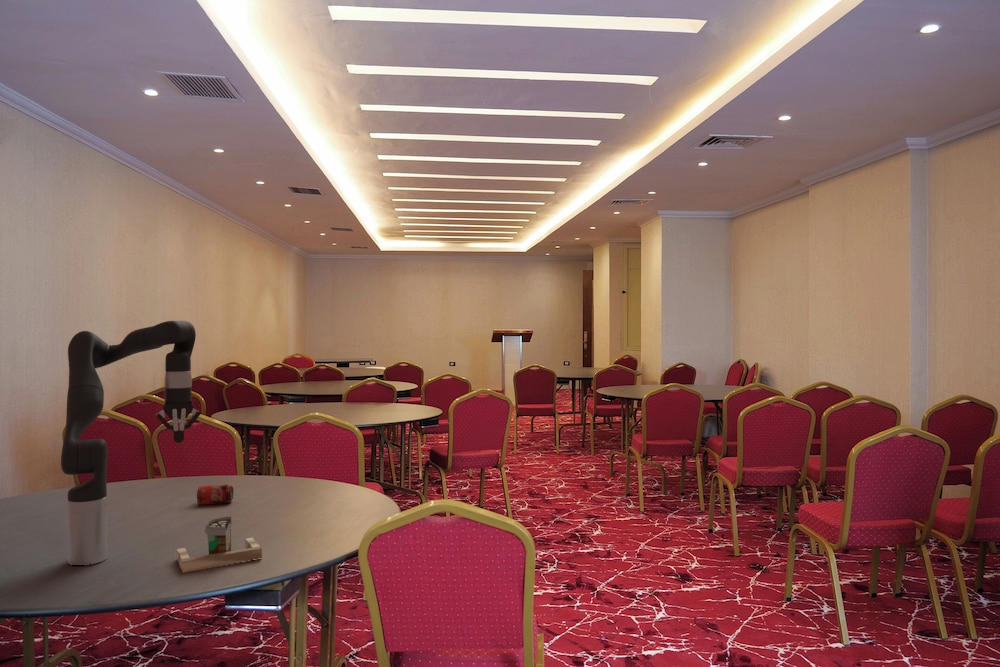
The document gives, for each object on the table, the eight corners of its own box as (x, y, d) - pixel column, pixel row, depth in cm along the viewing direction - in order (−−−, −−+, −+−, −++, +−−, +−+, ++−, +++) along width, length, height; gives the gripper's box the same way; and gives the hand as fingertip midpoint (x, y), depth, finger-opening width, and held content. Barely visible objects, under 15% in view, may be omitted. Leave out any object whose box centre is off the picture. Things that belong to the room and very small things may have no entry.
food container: (208, 552, 197) (208, 517, 196) (231, 550, 198) (231, 515, 198) (201, 566, 185) (200, 529, 185) (225, 564, 186) (225, 527, 186)
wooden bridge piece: (177, 559, 190) (176, 548, 190) (252, 547, 201) (252, 537, 201) (182, 572, 180) (182, 561, 180) (261, 559, 190) (261, 548, 190)
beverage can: (231, 505, 250) (231, 486, 250) (196, 506, 248) (196, 488, 248) (235, 500, 257) (235, 482, 257) (201, 501, 255) (201, 484, 255)
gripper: (199, 384, 217) (200, 439, 217) (152, 386, 210) (153, 443, 210) (203, 385, 210) (203, 442, 211) (155, 387, 204) (155, 446, 204)
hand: (178, 442), depth 210 cm, fingers closed
